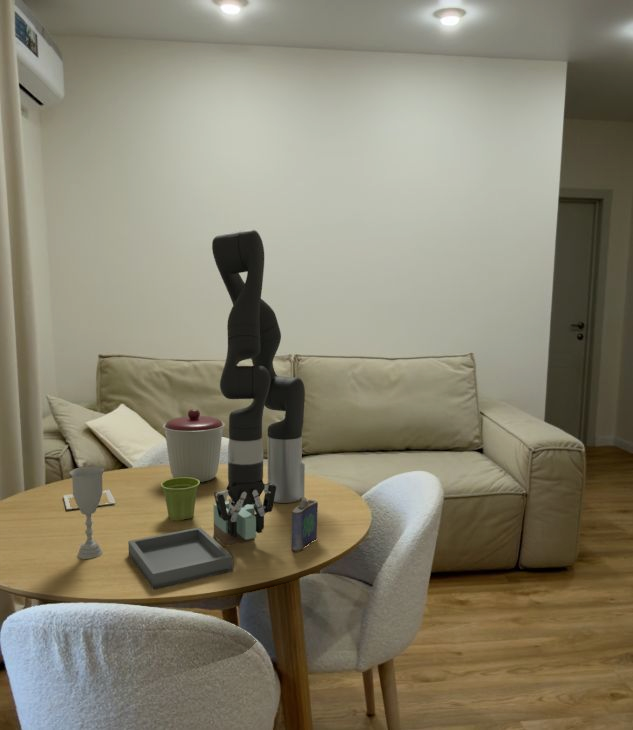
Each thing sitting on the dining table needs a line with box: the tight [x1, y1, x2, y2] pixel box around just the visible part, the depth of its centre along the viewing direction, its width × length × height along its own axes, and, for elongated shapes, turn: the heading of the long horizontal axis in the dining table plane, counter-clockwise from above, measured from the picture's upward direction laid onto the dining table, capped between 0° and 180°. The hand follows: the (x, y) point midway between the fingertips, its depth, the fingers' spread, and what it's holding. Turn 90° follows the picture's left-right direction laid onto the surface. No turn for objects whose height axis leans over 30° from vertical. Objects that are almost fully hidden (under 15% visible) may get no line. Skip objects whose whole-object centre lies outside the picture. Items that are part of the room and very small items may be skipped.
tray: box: [127, 526, 234, 590], centre depth 128 cm, size 16×18×3 cm
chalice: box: [69, 465, 105, 560], centre depth 131 cm, size 7×7×18 cm
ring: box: [213, 500, 257, 540], centre depth 139 cm, size 7×12×4 cm, turn 31°
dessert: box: [62, 489, 116, 511], centre depth 165 cm, size 12×12×5 cm
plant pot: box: [160, 477, 201, 522], centre depth 154 cm, size 9×9×9 cm
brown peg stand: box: [213, 497, 256, 547], centre depth 141 cm, size 7×7×9 cm
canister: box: [162, 408, 226, 483], centre depth 185 cm, size 18×18×21 cm
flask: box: [290, 496, 319, 552], centre depth 138 cm, size 9×3×11 cm, turn 151°
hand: (245, 534), depth 136 cm, fingers open, 5 cm apart
